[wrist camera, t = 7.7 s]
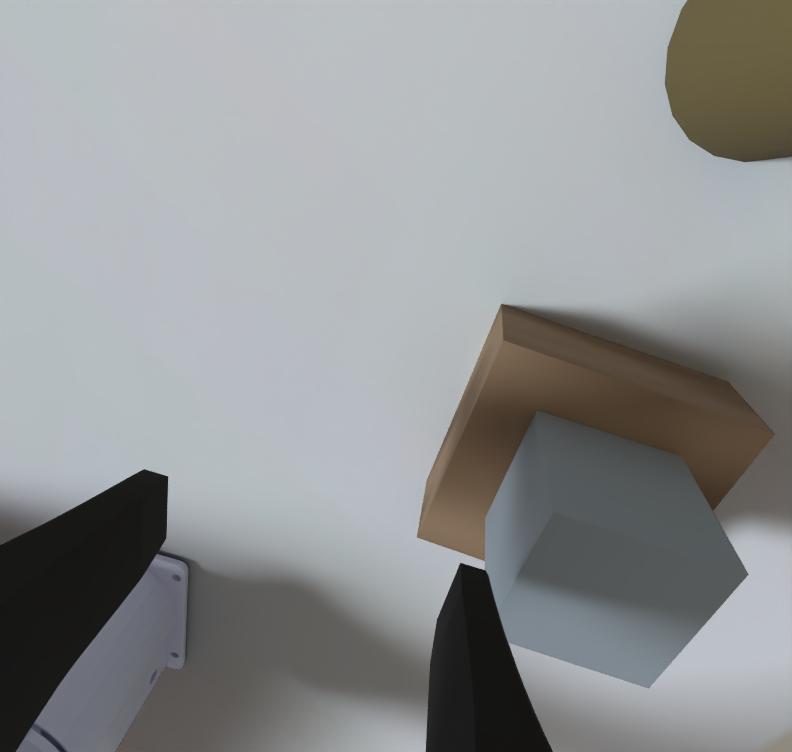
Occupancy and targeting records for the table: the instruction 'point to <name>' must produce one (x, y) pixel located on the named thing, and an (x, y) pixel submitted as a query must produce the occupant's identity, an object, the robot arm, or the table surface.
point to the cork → (733, 77)
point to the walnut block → (577, 418)
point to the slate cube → (604, 551)
